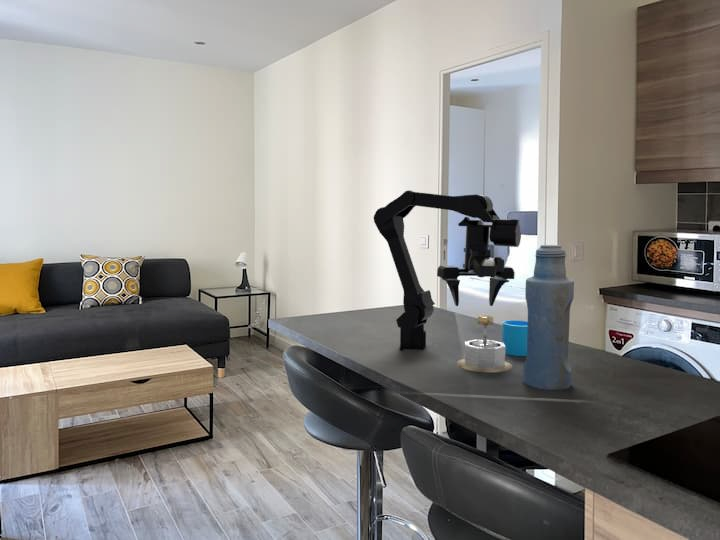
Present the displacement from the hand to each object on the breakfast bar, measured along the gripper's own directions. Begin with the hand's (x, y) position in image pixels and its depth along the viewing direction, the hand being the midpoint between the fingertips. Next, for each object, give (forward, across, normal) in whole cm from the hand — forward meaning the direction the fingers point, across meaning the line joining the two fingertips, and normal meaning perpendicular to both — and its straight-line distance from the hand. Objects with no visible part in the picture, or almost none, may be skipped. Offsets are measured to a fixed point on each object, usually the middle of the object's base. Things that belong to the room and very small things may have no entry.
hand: (474, 305), depth 144 cm
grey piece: (+12, 0, -9) cm, 15 cm away
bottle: (+13, +6, -27) cm, 30 cm away
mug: (+13, +13, +2) cm, 18 cm away
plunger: (+8, -1, -10) cm, 13 cm away
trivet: (+13, -1, -10) cm, 17 cm away
